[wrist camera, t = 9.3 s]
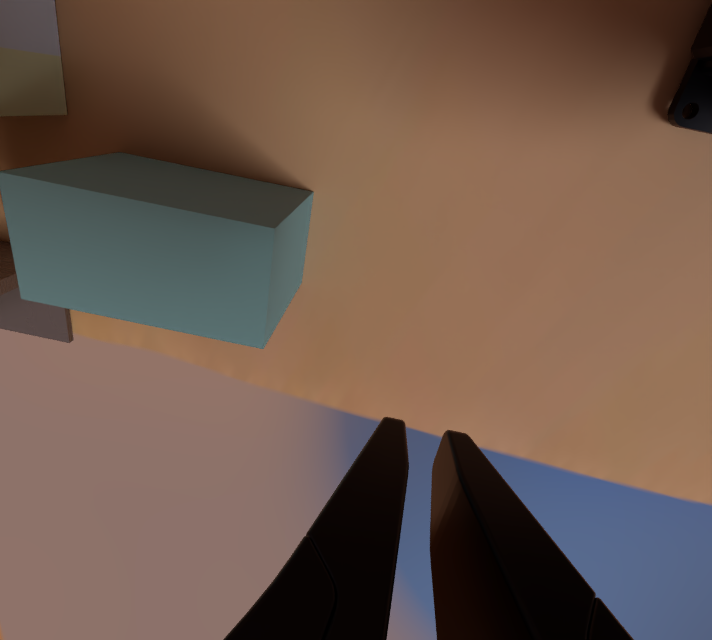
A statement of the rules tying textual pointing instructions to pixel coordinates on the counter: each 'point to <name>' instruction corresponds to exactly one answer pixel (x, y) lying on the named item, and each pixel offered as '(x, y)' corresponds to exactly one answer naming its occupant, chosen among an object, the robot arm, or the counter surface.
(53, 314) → the grey metal bookend
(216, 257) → the grey teal rectangular block
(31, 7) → the row of shelved books
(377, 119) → the counter surface
